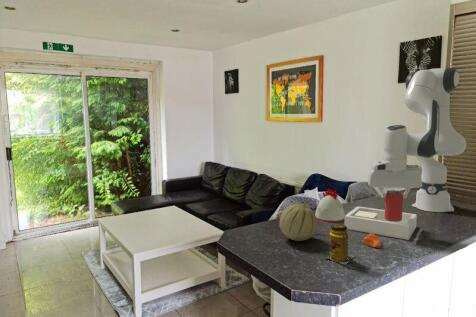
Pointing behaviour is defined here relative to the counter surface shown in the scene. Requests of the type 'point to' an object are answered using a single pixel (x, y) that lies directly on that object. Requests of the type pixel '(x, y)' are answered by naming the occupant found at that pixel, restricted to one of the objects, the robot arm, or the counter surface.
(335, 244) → the condiment
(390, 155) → the robot arm
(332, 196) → the kitchen timer
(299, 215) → the cantaloupe
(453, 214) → the counter surface
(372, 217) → the cream rectangular box
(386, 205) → the beer can
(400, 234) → the tray
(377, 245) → the rock
